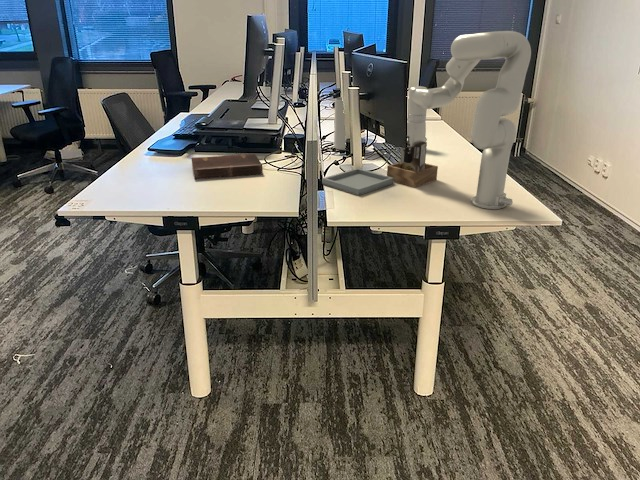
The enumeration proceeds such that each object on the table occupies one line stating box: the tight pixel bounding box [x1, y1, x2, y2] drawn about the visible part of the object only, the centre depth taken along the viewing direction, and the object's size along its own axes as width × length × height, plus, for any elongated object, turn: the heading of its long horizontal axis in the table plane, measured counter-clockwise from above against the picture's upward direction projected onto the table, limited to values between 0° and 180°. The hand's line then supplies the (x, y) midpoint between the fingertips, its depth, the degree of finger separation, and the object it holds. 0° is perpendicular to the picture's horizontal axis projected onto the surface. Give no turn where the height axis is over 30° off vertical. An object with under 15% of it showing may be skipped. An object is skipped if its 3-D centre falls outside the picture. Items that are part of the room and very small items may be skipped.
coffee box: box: [399, 141, 428, 172], centre depth 219 cm, size 9×6×16 cm
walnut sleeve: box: [386, 161, 439, 188], centre depth 221 cm, size 15×15×6 cm
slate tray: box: [321, 167, 395, 196], centre depth 216 cm, size 20×22×2 cm
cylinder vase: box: [333, 96, 347, 151], centre depth 268 cm, size 12×12×25 cm
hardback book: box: [191, 153, 264, 180], centre depth 232 cm, size 29×19×5 cm, turn 106°
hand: (413, 160), depth 219 cm, fingers closed on coffee box, 7 cm apart
